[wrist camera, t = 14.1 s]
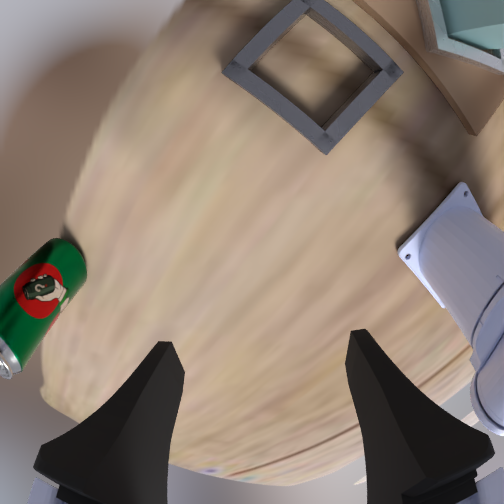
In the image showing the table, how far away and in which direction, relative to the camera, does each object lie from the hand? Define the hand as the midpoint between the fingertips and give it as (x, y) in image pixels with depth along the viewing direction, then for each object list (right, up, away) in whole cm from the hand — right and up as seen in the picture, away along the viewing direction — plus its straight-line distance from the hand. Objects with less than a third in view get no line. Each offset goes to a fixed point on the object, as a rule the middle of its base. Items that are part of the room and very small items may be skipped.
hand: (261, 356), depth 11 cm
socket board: (+14, +21, -1) cm, 25 cm away
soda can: (-17, +3, +10) cm, 20 cm away
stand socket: (+3, +15, +3) cm, 16 cm away
